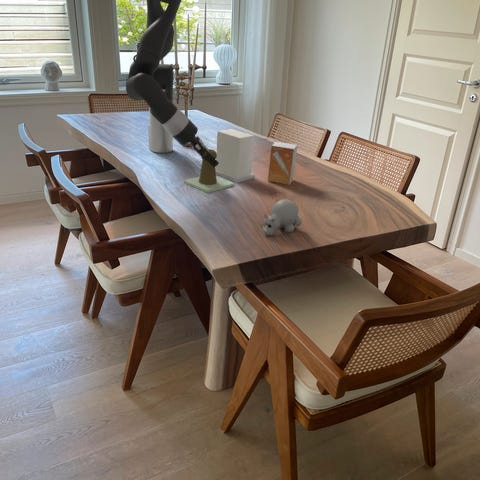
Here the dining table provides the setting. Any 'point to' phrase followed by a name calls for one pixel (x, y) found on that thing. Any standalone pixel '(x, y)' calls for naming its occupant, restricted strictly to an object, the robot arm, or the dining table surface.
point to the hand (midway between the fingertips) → (213, 161)
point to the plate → (209, 188)
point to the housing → (234, 155)
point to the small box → (282, 162)
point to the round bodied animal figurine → (282, 217)
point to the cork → (208, 170)
